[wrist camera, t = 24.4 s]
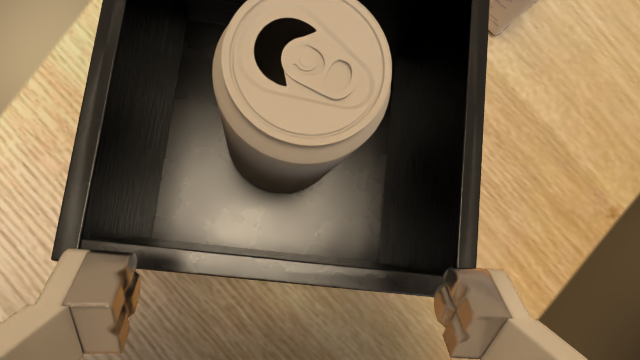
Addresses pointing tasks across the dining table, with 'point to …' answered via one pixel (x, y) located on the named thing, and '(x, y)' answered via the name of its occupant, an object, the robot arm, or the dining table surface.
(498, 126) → the dining table surface
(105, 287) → the robot arm
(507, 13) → the medicine box
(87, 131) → the dark storage bin
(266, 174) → the beverage can
